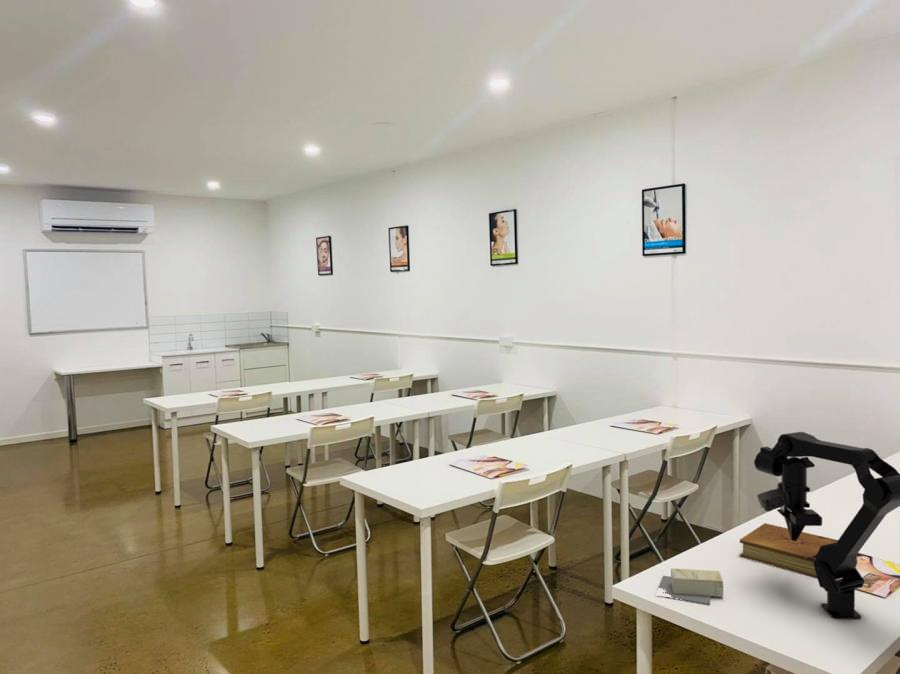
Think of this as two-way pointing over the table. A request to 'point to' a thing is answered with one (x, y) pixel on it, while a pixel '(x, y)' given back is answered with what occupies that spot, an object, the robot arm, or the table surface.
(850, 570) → the robot arm
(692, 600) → the mat
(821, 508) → the table surface
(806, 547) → the diary
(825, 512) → the table surface
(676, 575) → the skincare box
